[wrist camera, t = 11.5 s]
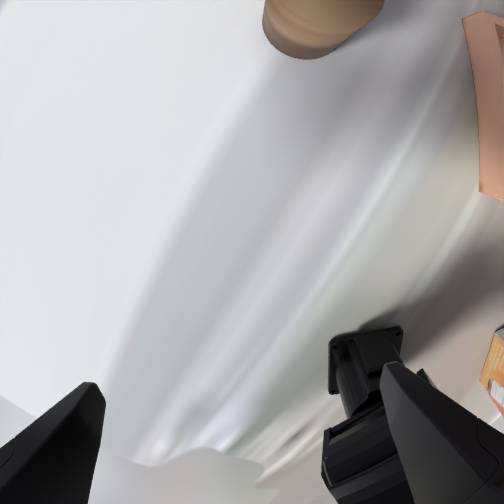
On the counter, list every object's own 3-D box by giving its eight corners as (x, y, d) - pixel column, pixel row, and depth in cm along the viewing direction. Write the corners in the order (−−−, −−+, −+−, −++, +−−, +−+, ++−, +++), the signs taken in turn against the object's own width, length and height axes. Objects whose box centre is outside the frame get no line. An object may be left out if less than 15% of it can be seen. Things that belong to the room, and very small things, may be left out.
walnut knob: (347, 58, 16) (395, 30, 10) (268, 62, 16) (280, 28, 10) (334, -7, 14) (370, -56, 8) (257, -5, 14) (261, -61, 8)
